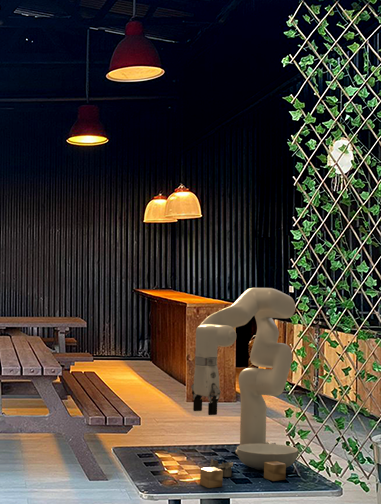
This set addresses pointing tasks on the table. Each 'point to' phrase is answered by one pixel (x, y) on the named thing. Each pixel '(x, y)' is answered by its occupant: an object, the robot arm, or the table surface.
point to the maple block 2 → (275, 470)
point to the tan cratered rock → (222, 467)
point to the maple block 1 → (211, 477)
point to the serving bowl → (266, 454)
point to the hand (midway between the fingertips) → (204, 412)
